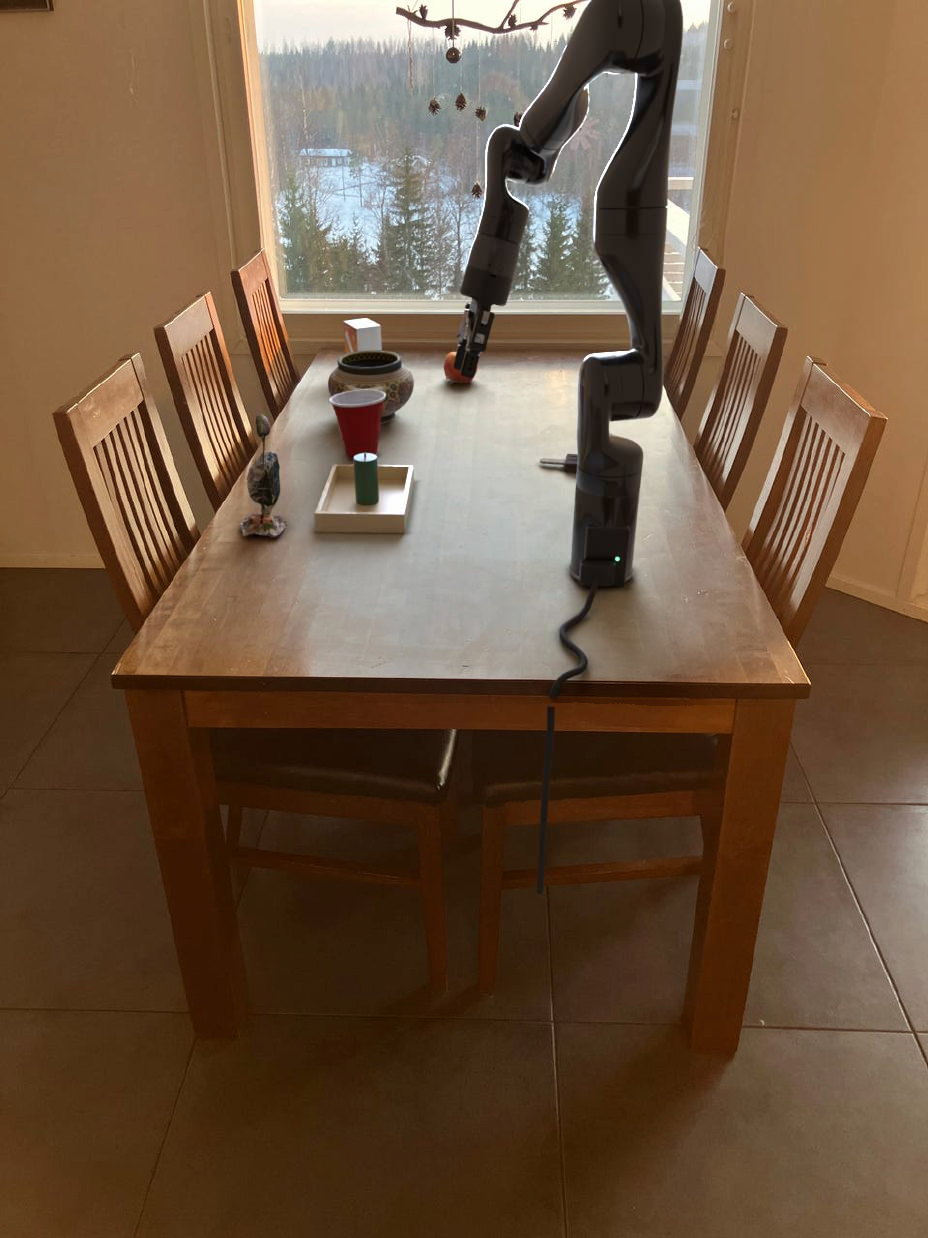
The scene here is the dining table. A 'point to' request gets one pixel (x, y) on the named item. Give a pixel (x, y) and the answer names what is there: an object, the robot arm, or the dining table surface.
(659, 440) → the dining table surface
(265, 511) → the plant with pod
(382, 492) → the wooden tray
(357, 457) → the green candle
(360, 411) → the plastic cup
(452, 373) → the fruit
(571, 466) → the ice cream bar
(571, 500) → the dining table surface
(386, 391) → the ceramic bowl
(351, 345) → the small box
